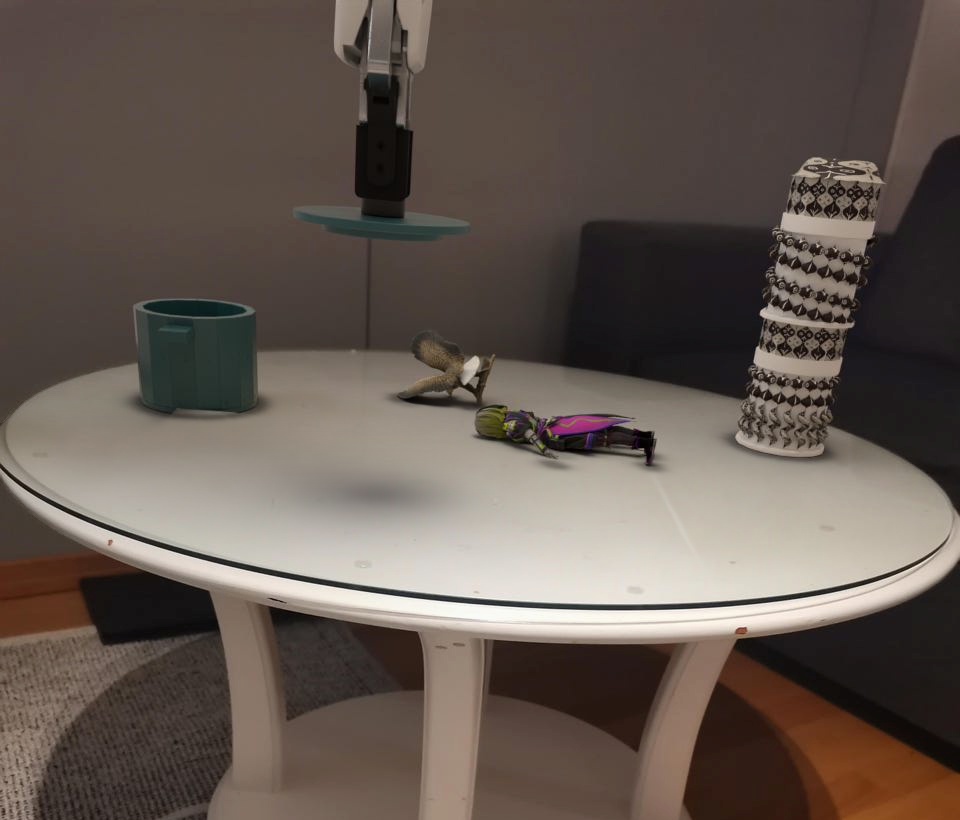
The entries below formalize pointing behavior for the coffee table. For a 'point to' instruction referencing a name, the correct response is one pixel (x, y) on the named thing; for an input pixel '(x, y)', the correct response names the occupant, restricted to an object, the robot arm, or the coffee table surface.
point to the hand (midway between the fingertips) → (383, 194)
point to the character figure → (563, 430)
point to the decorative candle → (809, 305)
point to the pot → (196, 354)
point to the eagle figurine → (446, 367)
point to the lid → (381, 221)
